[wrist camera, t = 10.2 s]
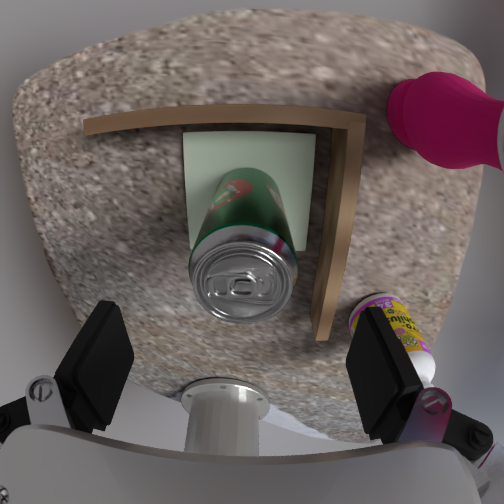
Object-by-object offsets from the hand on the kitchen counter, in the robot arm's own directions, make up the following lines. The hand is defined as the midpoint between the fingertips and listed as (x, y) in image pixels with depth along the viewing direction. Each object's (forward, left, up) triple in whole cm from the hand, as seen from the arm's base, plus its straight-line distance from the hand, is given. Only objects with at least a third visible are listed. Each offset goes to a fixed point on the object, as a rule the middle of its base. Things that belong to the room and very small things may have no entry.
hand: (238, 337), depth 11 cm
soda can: (+1, 0, -15) cm, 15 cm away
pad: (+1, 0, -15) cm, 15 cm away
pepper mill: (+9, -14, -15) cm, 22 cm away
